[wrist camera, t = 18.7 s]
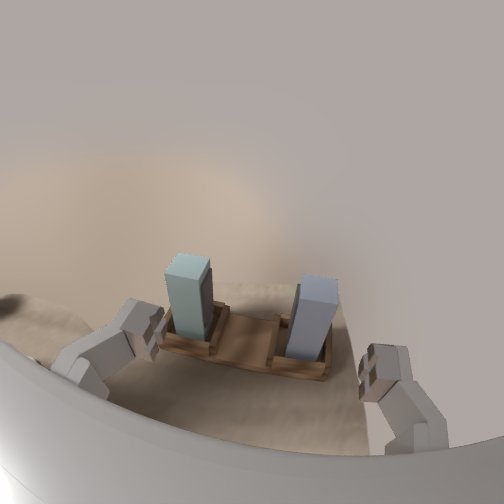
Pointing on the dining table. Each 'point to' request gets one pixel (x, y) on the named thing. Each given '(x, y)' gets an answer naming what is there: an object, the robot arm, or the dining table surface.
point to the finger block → (311, 316)
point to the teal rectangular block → (191, 295)
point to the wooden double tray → (249, 345)
